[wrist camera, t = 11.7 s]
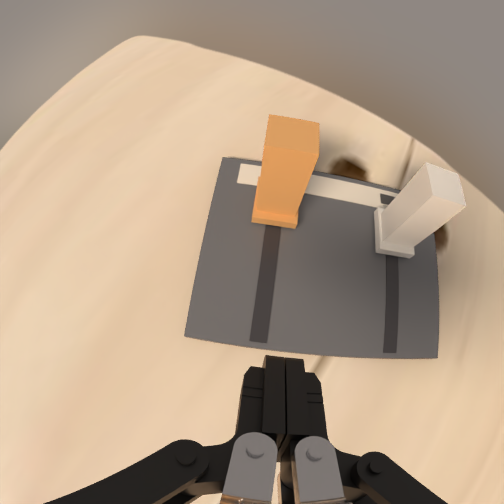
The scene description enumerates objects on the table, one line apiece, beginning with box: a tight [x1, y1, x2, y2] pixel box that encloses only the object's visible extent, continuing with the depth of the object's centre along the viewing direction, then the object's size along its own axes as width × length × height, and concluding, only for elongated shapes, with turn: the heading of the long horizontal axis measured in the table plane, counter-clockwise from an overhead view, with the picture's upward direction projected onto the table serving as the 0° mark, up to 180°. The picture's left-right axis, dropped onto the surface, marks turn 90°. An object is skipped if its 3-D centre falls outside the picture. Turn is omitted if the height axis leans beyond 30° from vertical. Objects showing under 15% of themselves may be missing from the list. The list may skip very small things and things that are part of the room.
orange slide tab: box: [251, 114, 319, 229], centre depth 22 cm, size 4×4×10 cm
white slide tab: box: [374, 162, 466, 258], centre depth 22 cm, size 4×4×10 cm
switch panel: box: [184, 157, 439, 359], centre depth 26 cm, size 24×18×1 cm
